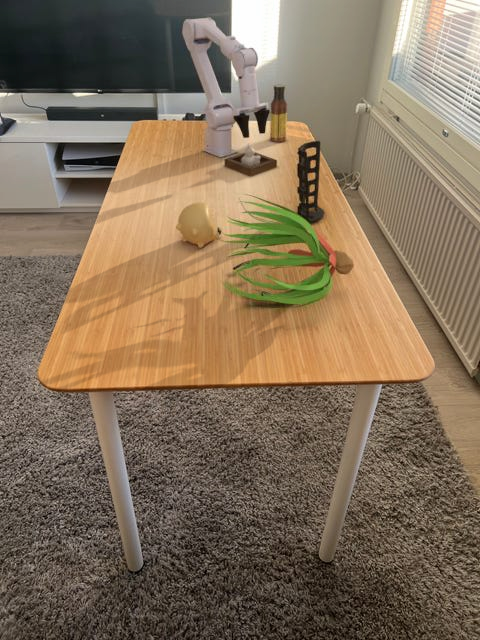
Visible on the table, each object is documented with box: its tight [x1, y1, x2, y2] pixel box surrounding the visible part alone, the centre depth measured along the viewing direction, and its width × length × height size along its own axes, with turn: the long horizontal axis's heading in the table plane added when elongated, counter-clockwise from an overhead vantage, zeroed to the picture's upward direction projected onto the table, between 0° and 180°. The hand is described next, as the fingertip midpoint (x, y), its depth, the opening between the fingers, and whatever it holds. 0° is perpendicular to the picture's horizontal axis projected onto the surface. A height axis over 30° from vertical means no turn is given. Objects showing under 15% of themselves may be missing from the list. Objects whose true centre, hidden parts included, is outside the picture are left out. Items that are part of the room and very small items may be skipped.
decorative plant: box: [216, 193, 355, 310], centre depth 108 cm, size 26×25×30 cm
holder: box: [296, 140, 325, 225], centre depth 141 cm, size 11×8×20 cm
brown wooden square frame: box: [224, 151, 278, 177], centre depth 176 cm, size 13×13×2 cm
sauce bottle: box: [269, 83, 288, 143], centre depth 194 cm, size 7×6×20 cm
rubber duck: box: [241, 143, 261, 167], centre depth 175 cm, size 5×7×8 cm
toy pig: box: [175, 202, 222, 249], centre depth 131 cm, size 10×12×11 cm
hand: (254, 135), depth 170 cm, fingers open, 7 cm apart
